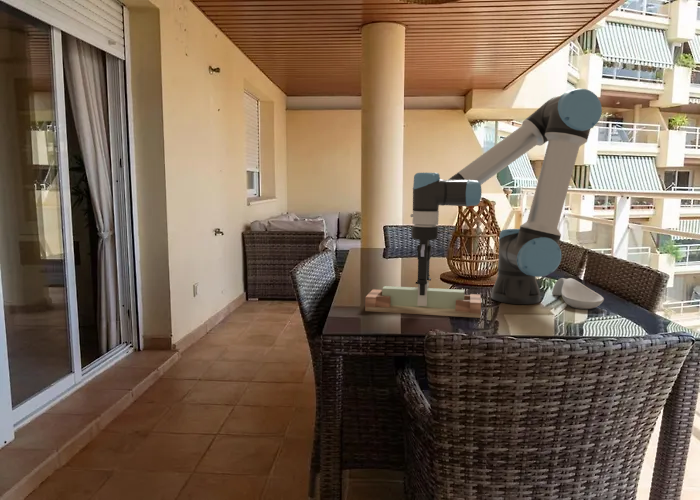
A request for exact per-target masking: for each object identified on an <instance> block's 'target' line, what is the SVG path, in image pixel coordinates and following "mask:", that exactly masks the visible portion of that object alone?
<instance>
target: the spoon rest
mask: <svg viewBox="0 0 700 500" xmlns="http://www.w3.org/2000/svg"><path fill="white" fill-rule="evenodd" d="M551 295H553V296H561V297H562V300H563V301H564V302H565V304H567V305H568V306H569V307H571V308H573V309H580V310H592V309H595V308H597V307H599V306H600V305H601V304H602V303H603V302H604V300H605V298H604V296H602V295H601V294H599V293H598V292H595V290H592V289H591V288H589V287H587V286H586V285H584V284H583V283H581V282H580V281H578V280H576V279H575V278H572V277H569V278H564V277H561V278H559V279H558V280H557V281H556V282H555V283H554V285H553V288H552V293H551Z"/></svg>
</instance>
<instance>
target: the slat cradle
mask: <svg viewBox="0 0 700 500" xmlns="http://www.w3.org/2000/svg"><path fill="white" fill-rule="evenodd" d="M364 298H365V301H364V302H365V303H364V305H365V307H364V308H365V310H364V311H365V312H378V313H391V314H392V313H394V314H407V315H410V314H411V315H412V314H413V315H423V316H424V315H429V316H443V317H445V316H446V317H448V316H449V317H457V318H459V317H462V318H479V319H481V317H482V316H481V315H482V297H481V294H480V293H479V294H478V293H477V294H476V293H469V294H464V300H456V309H447V308H429V307H412V306H394V305H390V300H391V296H382V289H380V288H379V289H377V288H373V289H372V290H371V291H370V292H368V294H367V295H366V296H365V297H364Z"/></svg>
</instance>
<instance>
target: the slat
mask: <svg viewBox="0 0 700 500" xmlns="http://www.w3.org/2000/svg"><path fill="white" fill-rule="evenodd" d="M381 290H382V296H391V300H390V305H394V306H412V307H429V308H447V309H456V300H464V295H465V289H455V288H454V289H451V288H438V287H437V288H435V287H433V288H431V287H429V288H427V306H417V302H418V287H414V286H412V287H411V286H396V285H395V286H392V285H391V286H390V285H384V286H383V287H382V289H381Z"/></svg>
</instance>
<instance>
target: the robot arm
mask: <svg viewBox="0 0 700 500" xmlns="http://www.w3.org/2000/svg"><path fill="white" fill-rule="evenodd" d="M602 106H603V105H602V103H601V100H600V99H599V97H598V96H597V94H595V92H593V91H591V90H589V89H586V88H576V89H575V88H574V89H569V90H566V91H565V92H564V93H561V94H559V95H556V96H553V97H551V98H550V99H548V100H547V101H546V102H544V103H543V104H542V105H541V106H540V107H539V108H538V109H537V110H535V111H534V112H533V113H532V114H530V115H529V116H528V117H526V118H525V119H524V120H523V121H522V123H521V124H522V125H521V126H519V127H518V128H517V129H516V130H514V131H513V132H512V133H510V134H509V135H507V136H506V137H505V138H503V139H501V141H499V142H498V143H496V144H495V145H493V146H492V147H491V148H489V149H487V151H485V152H484V153H483V154H481V155H480V156H479V157H476V158H475V159H474V160H473V161H472V162H470V163H469V164H467V165H466V166H465V167H463V168H462V169H460V170H459V171H458V172H456V173H455V174H454V175H453V176H451V177H450V178H448V179H441V177H440V173H439V172H417V173H415V174H414V176H413V186H412V213H411V214H410V216H409V217H410V218H412V225H413V226H412V228H411V238H412V239H413V240H419V244H418V245H417V246H416V251H417V281H415V285H417V288H418V302H417V306H427V288H430V287H429V286H430V282H431V281H432V278H431V277H430V262H431V261H430V260H431V255H432V254H431V253H432V252H431V251H432V249H433V248H432V246H433V245H431V244H430V241H434V240H438V238H439V236H438V234H439V227H438V226H439V215H440V214H439V209H440V208H439V207H440V206H451V207H453V206H455V207H458V206H459V207H463V206H465V207H471V206H475V207H476V206H478V205H479V204H480V203H481V200H482V185H483V184H485V183H486V182H487V181H488V180H490V179H491V178H493V177H494V176H495V175H497V174H498V173H500V172H501V171H502V170H504V169H505V168H507V167H508V166H509V165H511V164H512V163H513V162H515V161H516V160H518V159H519V158H521V157H522V156H523V155H525V154H526V153H527V152H529V151H530V150H532V149H533V148H534V147H535V146H543V145H545V144H546V143H547V146H546V150H545V153H544V157H543V161H542V164H541V168H540V172H539V176H538V180H537V183H536V186H535V187H536V188H535V191H534V195H533V199H532V201H531V206H530V210H529V212H528V217H527V220H526V222H524V223H522V224H521V225H520V226H519V228H505V229H502V230H501V231H500V232H499V238H498V263H497V267H498V268H497V269H498V270H497V277H496V278H495V279H496V280H495V281H494V285H493V287H492V290H491V299H492V300H493V301H496V302H498V303H499V302H500V303H505V304H510V305H511V304H512V305H534V304H538V303H540V302H541V292H540V288H539V285H538V281H537V277H538V278H541V277H547V276H548V275H550V274H552V273H554V272H555V271H556V270H557V269H558V267H559V266H560V265H561V262H562V250H561V247H560V246H559V245H560V244H559V243H560V240H561V237H562V234H561V232H560V230H559V229H558V226H559V223H560V220H561V215H562V212H563V208H564V205H565V201H566V197H567V195H568V190H569V186H570V183H571V179H572V176H573V171H574V167H575V164H576V161H577V157H578V153H579V151H580V150H579V149H580V147H581V146H583V145H584V144H586V143H587V142H588V139H589V136H590V132H591V129H592V128H594V127H595V126H596V125H597V124H598V123H599V121H600V119H601V117H602V111H603V107H602ZM437 225H438V226H437Z"/></svg>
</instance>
